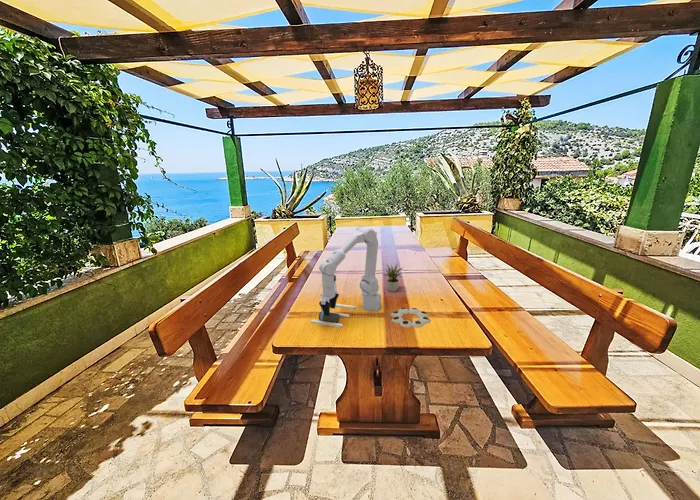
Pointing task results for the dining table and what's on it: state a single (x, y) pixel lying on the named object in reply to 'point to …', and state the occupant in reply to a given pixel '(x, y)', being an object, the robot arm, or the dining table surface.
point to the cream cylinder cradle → (333, 312)
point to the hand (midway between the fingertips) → (329, 311)
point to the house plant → (393, 281)
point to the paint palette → (400, 320)
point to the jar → (334, 283)
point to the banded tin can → (329, 317)
